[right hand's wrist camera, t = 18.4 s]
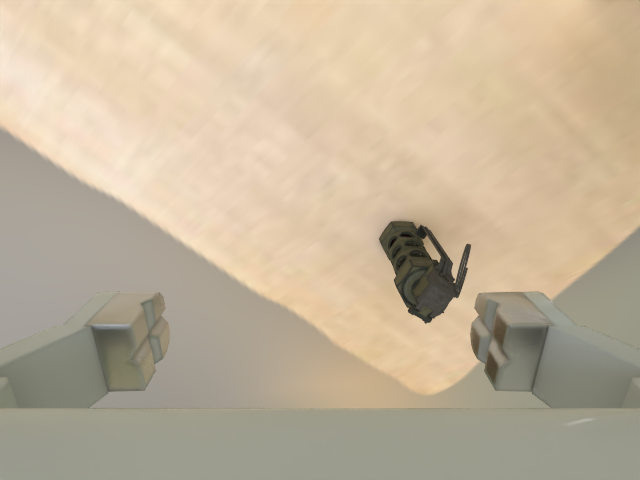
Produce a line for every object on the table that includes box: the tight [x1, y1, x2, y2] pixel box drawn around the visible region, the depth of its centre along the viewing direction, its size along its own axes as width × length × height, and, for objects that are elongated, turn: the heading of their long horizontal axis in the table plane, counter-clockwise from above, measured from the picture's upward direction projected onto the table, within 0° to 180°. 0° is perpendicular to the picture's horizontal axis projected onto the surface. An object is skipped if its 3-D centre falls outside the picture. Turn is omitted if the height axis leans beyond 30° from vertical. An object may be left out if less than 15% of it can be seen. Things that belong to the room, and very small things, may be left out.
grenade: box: [379, 222, 471, 323], centre depth 40 cm, size 9×6×15 cm, turn 149°
